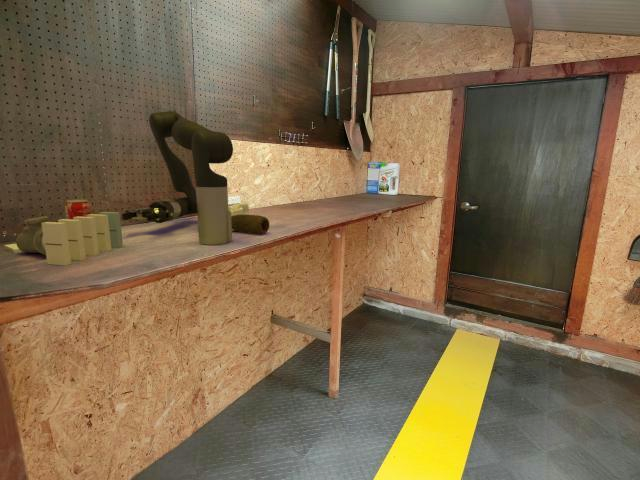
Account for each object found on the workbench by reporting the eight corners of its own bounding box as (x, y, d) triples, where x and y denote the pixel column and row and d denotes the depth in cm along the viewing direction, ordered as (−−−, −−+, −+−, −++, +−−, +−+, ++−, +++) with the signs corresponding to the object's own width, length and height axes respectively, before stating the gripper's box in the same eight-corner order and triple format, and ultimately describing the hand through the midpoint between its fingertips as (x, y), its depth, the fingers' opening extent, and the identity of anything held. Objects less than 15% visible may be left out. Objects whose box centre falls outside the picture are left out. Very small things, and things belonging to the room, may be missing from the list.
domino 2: (68, 257, 92) (63, 219, 90) (86, 258, 91) (81, 219, 89) (63, 259, 90) (57, 220, 88) (80, 260, 90) (75, 220, 87)
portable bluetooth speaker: (272, 233, 128) (272, 214, 127) (261, 236, 122) (260, 217, 120) (238, 229, 134) (237, 211, 133) (225, 232, 128) (225, 214, 127)
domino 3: (82, 253, 96) (78, 216, 94) (99, 254, 95) (95, 217, 93) (77, 254, 95) (73, 217, 92) (94, 255, 94) (90, 218, 92)
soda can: (66, 237, 114) (60, 200, 112) (91, 234, 119) (86, 198, 117) (72, 241, 110) (66, 202, 107) (98, 238, 115) (93, 200, 112)
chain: (241, 215, 167) (240, 202, 166) (252, 216, 165) (252, 203, 164) (198, 225, 140) (198, 210, 138) (212, 227, 138) (211, 211, 136)
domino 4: (95, 249, 101) (91, 214, 98) (111, 250, 100) (107, 214, 98) (91, 250, 99) (86, 214, 97) (107, 251, 98) (103, 215, 96)
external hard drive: (4, 250, 100) (56, 242, 110) (14, 255, 95) (67, 246, 105) (3, 244, 100) (55, 237, 109) (13, 249, 95) (67, 241, 105)
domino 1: (53, 262, 88) (47, 221, 85) (71, 263, 87) (65, 222, 85) (47, 264, 86) (41, 223, 84) (65, 265, 85) (59, 223, 83)
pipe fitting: (76, 250, 97) (64, 213, 94) (45, 260, 89) (32, 220, 87) (47, 251, 101) (36, 215, 99) (16, 260, 94) (2, 222, 91)
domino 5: (107, 245, 105) (103, 211, 103) (123, 246, 104) (119, 212, 102) (103, 247, 103) (99, 212, 101) (119, 247, 103) (115, 213, 101)
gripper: (146, 199, 129) (113, 204, 113) (182, 201, 126) (155, 206, 111) (147, 220, 130) (116, 228, 115) (184, 222, 128) (157, 230, 112)
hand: (135, 217), depth 113 cm, fingers open, 8 cm apart
